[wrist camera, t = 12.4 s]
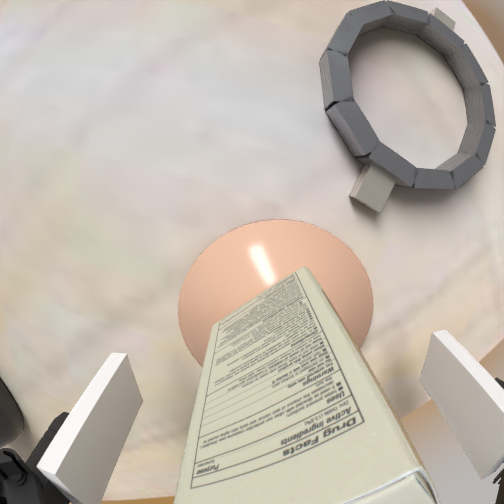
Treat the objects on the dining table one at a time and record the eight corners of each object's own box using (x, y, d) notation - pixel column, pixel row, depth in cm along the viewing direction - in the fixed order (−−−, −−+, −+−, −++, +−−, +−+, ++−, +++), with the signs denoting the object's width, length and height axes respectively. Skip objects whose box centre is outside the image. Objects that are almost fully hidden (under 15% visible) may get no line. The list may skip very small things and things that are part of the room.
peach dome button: (307, 405, 18) (309, 411, 18) (156, 348, 17) (154, 353, 16) (402, 273, 16) (406, 276, 15) (230, 182, 14) (229, 182, 14)
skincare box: (254, 373, 17) (253, 570, 5) (209, 322, 16) (152, 540, 4) (348, 319, 16) (447, 509, 4) (310, 258, 15) (426, 473, 3)
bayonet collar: (429, 247, 15) (445, 256, 13) (270, 152, 14) (272, 149, 12) (493, 70, 12) (508, 65, 10) (368, -26, 10) (377, -40, 9)
